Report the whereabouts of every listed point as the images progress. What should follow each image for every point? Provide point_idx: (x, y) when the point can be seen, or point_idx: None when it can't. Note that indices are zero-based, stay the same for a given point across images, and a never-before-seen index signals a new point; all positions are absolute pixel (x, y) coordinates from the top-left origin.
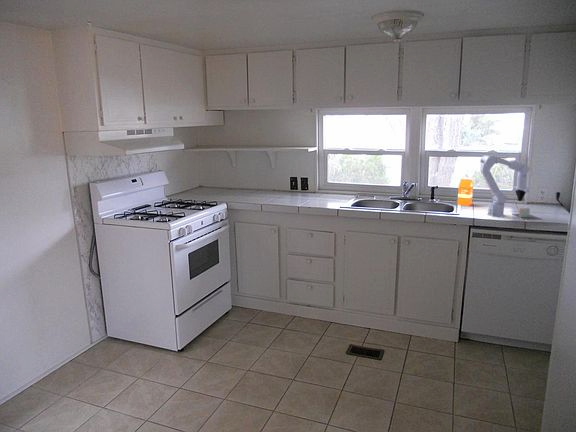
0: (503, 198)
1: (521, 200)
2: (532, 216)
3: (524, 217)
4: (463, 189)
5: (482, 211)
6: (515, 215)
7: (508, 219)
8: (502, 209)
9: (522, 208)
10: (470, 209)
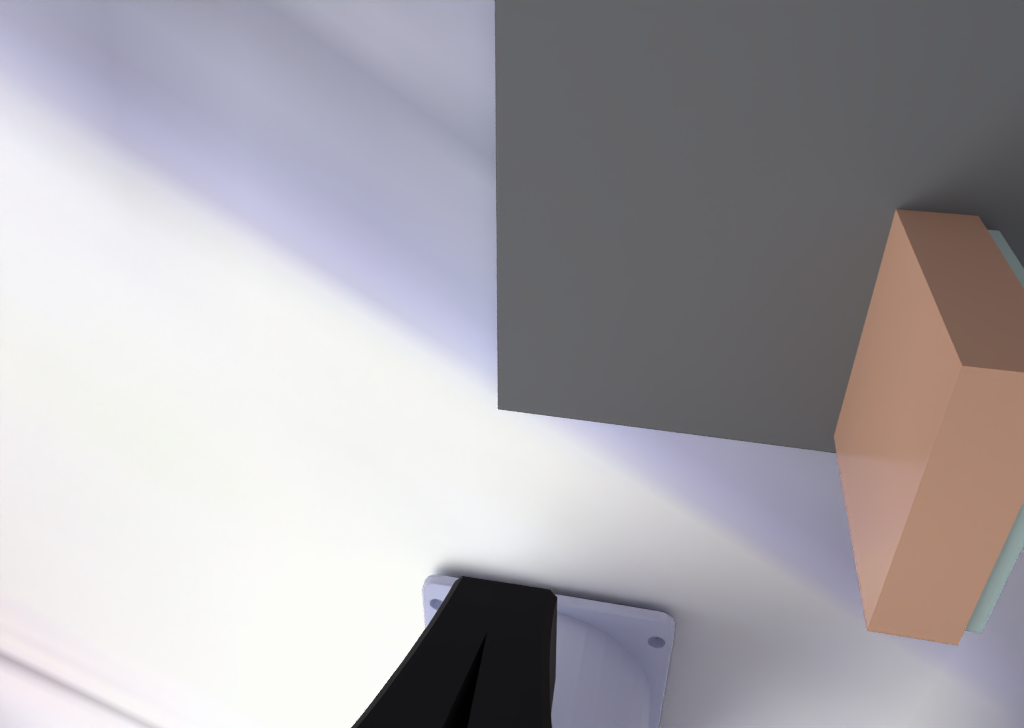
0: None
1: (552, 626)
2: (960, 27)
3: None
4: None
5: (191, 659)
6: (666, 417)
7: (917, 708)
8: None
9: (921, 582)
10: (59, 706)
